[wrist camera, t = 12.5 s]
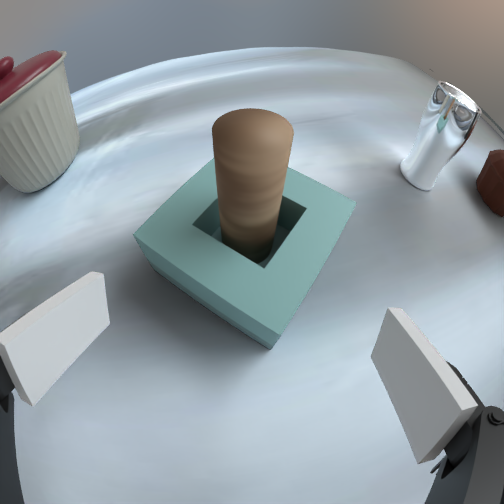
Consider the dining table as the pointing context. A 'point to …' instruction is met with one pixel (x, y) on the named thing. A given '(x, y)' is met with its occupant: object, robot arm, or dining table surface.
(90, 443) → the dining table surface
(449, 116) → the beer glass
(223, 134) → the dowel pin
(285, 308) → the socket block
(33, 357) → the robot arm
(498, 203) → the muffin
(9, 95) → the canister
